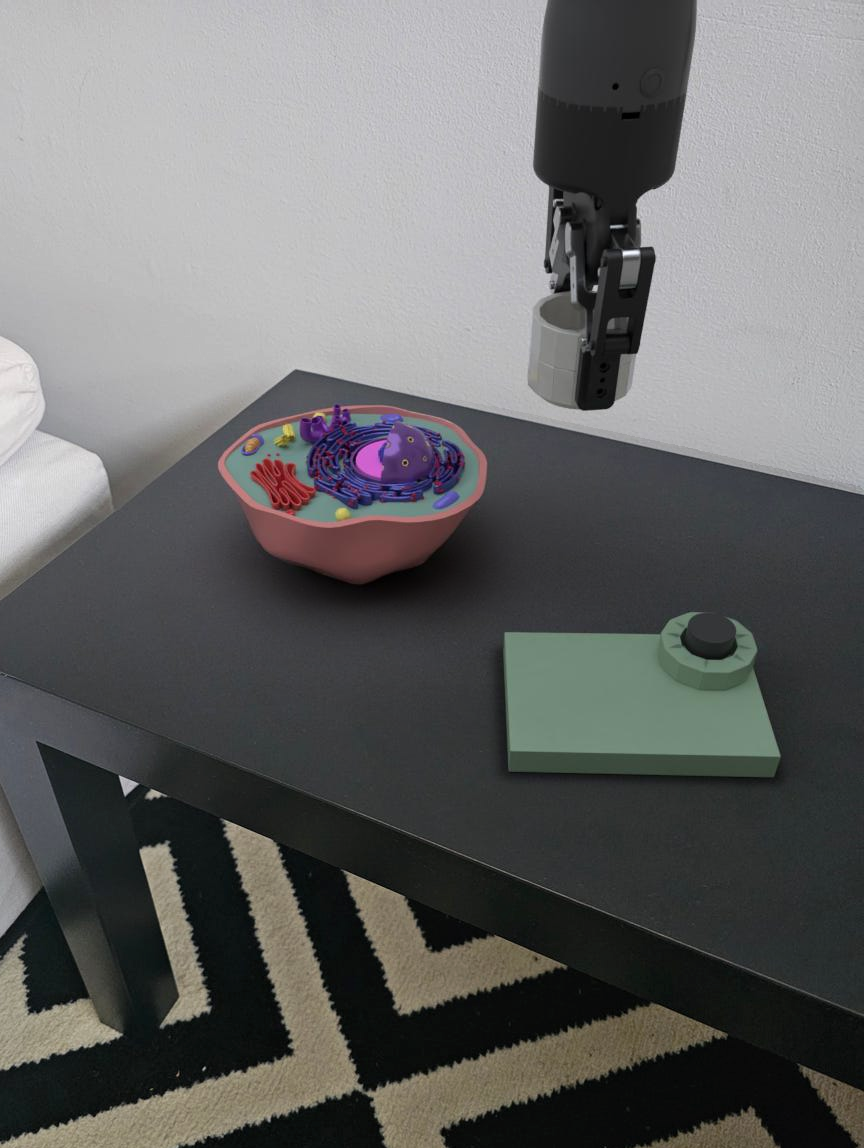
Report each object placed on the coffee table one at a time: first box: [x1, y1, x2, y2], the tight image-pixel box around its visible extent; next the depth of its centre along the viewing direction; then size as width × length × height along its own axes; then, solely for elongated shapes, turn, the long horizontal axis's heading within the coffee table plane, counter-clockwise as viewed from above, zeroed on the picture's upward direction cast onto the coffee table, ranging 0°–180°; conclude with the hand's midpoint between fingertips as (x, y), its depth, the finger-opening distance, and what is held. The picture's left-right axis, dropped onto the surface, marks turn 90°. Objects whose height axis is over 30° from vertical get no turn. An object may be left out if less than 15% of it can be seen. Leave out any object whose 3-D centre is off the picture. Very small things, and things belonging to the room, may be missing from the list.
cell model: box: [217, 403, 488, 586], centre depth 78 cm, size 17×20×11 cm
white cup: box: [526, 290, 637, 411], centre depth 63 cm, size 6×6×5 cm
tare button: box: [684, 612, 736, 660], centre depth 67 cm, size 3×3×2 cm
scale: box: [502, 611, 782, 778], centre depth 67 cm, size 16×12×4 cm
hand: (579, 378), depth 64 cm, fingers closed on white cup, 6 cm apart
